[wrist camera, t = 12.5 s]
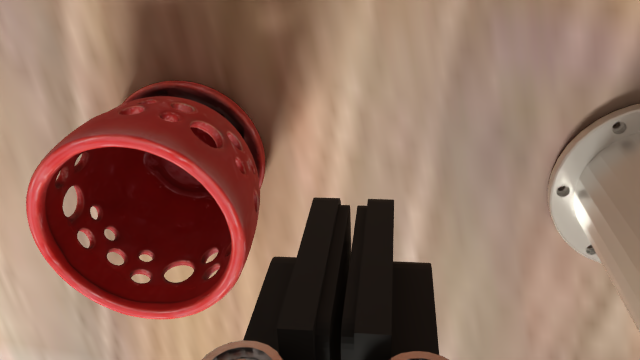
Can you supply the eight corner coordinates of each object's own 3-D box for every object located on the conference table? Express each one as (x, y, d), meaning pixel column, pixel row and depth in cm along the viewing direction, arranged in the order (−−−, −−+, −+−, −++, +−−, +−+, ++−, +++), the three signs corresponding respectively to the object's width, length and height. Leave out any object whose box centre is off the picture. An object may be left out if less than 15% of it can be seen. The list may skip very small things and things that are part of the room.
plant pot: (108, 196, 45) (19, 289, 34) (126, 43, 39) (24, 98, 28) (260, 245, 45) (218, 351, 35) (303, 100, 39) (267, 177, 28)
